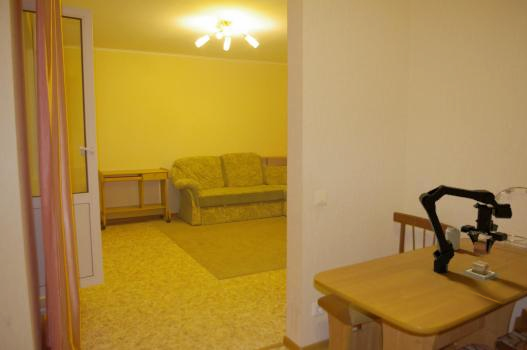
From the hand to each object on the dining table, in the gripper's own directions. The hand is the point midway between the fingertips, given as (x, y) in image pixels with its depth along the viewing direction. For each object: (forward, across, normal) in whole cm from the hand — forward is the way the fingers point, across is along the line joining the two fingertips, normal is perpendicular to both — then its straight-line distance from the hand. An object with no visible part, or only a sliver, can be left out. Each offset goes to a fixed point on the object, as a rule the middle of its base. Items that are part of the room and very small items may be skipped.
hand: (482, 250), depth 178 cm
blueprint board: (+12, 0, +1) cm, 12 cm away
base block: (+11, 0, +1) cm, 11 cm away
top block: (+1, 0, 0) cm, 1 cm away
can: (+12, +29, -24) cm, 39 cm away
